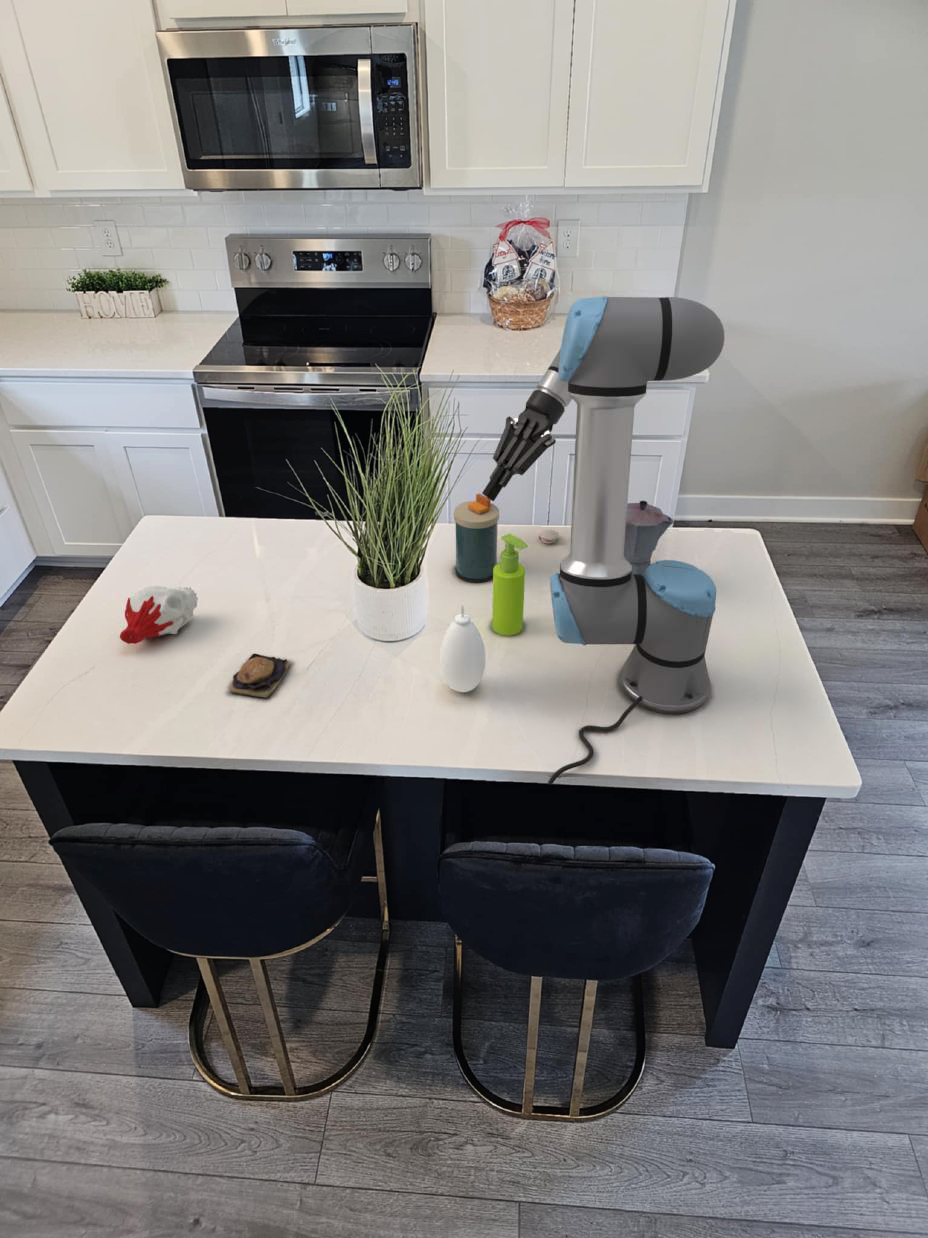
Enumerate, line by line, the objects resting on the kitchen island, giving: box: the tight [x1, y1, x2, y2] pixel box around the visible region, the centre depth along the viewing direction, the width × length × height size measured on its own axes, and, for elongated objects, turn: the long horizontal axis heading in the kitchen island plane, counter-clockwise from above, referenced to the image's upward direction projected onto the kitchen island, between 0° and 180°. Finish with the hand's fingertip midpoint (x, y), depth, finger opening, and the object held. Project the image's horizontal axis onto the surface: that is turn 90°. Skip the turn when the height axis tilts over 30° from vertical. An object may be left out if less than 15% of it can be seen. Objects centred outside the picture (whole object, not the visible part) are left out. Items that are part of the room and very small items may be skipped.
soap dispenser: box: [491, 533, 529, 637], centre depth 158 cm, size 6×7×20 cm
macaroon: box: [538, 529, 559, 544], centre depth 191 cm, size 4×5×2 cm
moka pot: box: [624, 500, 675, 574], centre depth 170 cm, size 10×15×20 cm, turn 78°
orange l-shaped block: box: [468, 493, 492, 514], centre depth 172 cm, size 3×4×2 cm
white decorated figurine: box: [119, 585, 199, 644], centre depth 161 cm, size 9×11×15 cm
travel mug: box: [453, 500, 500, 584], centre depth 177 cm, size 9×9×14 cm
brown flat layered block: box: [229, 652, 291, 699], centre depth 151 cm, size 11×8×4 cm
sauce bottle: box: [439, 603, 486, 693], centre depth 144 cm, size 8×8×18 cm
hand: (487, 497), depth 173 cm, fingers closed
